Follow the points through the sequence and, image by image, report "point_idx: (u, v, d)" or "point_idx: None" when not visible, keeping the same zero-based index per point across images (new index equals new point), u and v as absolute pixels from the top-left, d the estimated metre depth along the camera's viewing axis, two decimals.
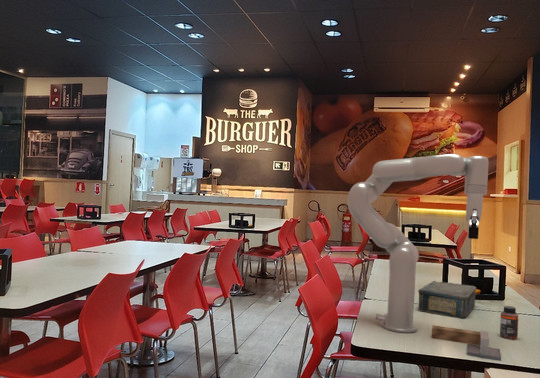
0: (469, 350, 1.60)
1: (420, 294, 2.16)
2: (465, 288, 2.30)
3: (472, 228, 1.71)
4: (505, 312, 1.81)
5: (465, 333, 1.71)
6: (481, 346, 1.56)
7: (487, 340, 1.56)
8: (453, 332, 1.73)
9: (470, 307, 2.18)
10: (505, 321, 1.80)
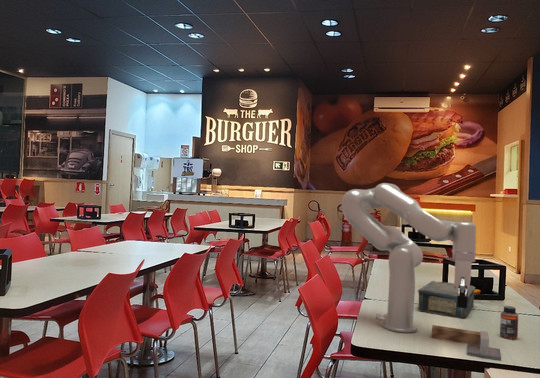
0: (469, 350, 1.60)
1: (420, 294, 2.16)
2: None
3: (461, 297, 1.69)
4: (505, 312, 1.81)
5: (465, 333, 1.71)
6: (481, 346, 1.56)
7: (487, 340, 1.56)
8: (453, 332, 1.73)
9: (469, 307, 2.18)
10: (505, 321, 1.80)
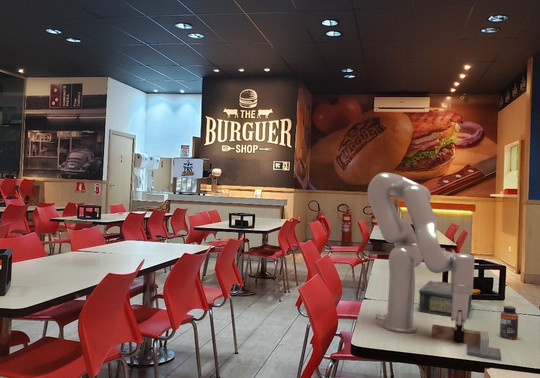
0: (469, 350, 1.60)
1: (421, 295, 2.15)
2: None
3: (457, 332, 1.71)
4: (505, 312, 1.81)
5: (465, 332, 1.71)
6: (481, 346, 1.56)
7: (487, 340, 1.56)
8: (453, 331, 1.73)
9: (469, 307, 2.19)
10: (505, 321, 1.80)
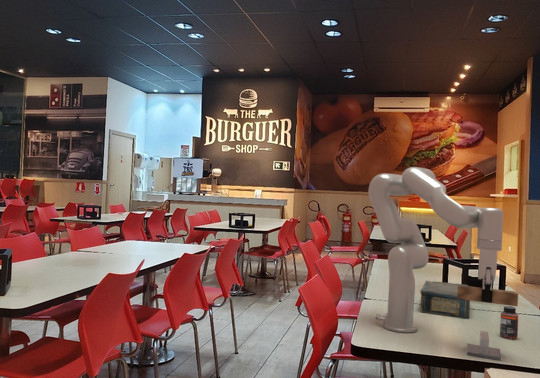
0: (469, 350, 1.60)
1: (422, 295, 2.14)
2: None
3: (485, 291, 1.58)
4: (505, 312, 1.81)
5: (494, 292, 1.58)
6: (481, 346, 1.56)
7: (487, 340, 1.56)
8: (481, 291, 1.60)
9: None
10: (505, 321, 1.80)
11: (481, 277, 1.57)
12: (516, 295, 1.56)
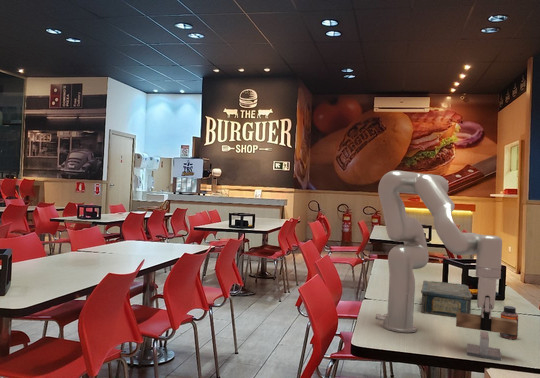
0: (469, 350, 1.60)
1: (424, 296, 2.13)
2: (459, 287, 2.31)
3: (484, 319, 1.58)
4: (505, 312, 1.81)
5: (493, 320, 1.58)
6: (481, 346, 1.56)
7: (487, 340, 1.56)
8: (480, 319, 1.60)
9: None
10: None
11: (480, 305, 1.57)
12: (515, 324, 1.56)
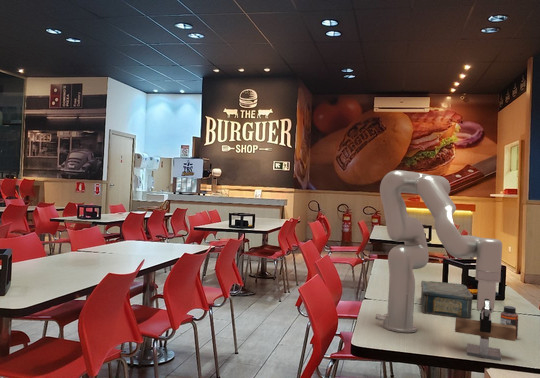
0: (469, 350, 1.60)
1: (425, 296, 2.12)
2: (457, 287, 2.32)
3: (484, 321, 1.56)
4: (505, 312, 1.81)
5: (492, 326, 1.58)
6: (481, 346, 1.56)
7: (487, 340, 1.56)
8: (479, 325, 1.60)
9: None
10: (505, 321, 1.80)
11: (479, 309, 1.57)
12: (514, 330, 1.56)
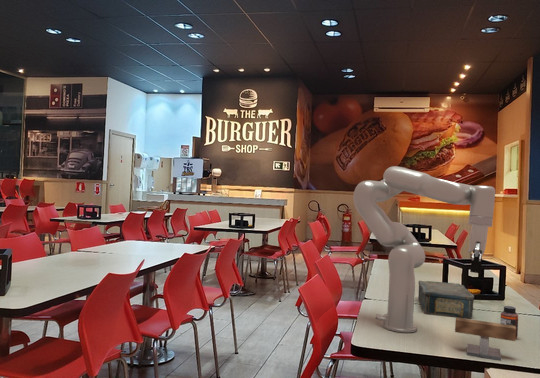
0: (469, 350, 1.60)
1: (427, 296, 2.11)
2: (455, 286, 2.32)
3: (474, 262, 1.64)
4: (505, 312, 1.81)
5: (492, 326, 1.58)
6: (481, 346, 1.56)
7: (487, 340, 1.56)
8: (479, 325, 1.60)
9: None
10: (505, 321, 1.80)
11: (470, 251, 1.65)
12: (514, 330, 1.56)
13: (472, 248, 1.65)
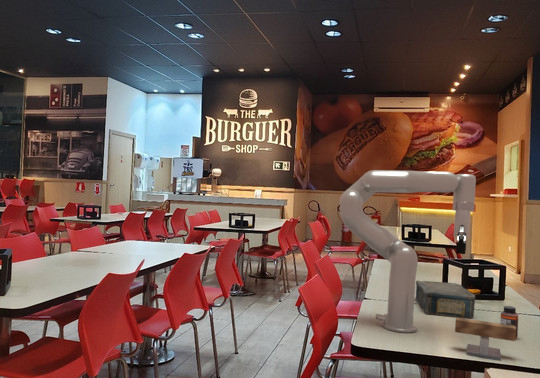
0: (469, 350, 1.60)
1: (428, 297, 2.11)
2: (453, 286, 2.32)
3: (459, 244, 1.79)
4: (505, 312, 1.81)
5: (492, 326, 1.58)
6: (481, 346, 1.56)
7: (487, 340, 1.56)
8: (479, 325, 1.60)
9: None
10: (505, 321, 1.80)
11: (455, 234, 1.80)
12: (514, 330, 1.56)
13: (457, 231, 1.80)
